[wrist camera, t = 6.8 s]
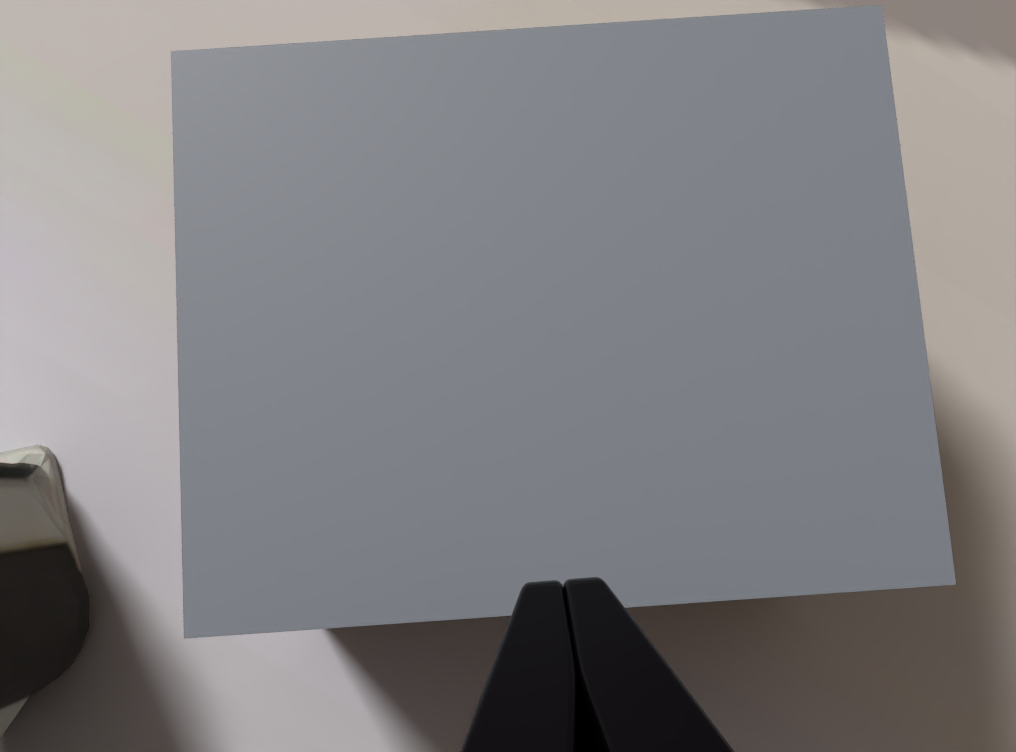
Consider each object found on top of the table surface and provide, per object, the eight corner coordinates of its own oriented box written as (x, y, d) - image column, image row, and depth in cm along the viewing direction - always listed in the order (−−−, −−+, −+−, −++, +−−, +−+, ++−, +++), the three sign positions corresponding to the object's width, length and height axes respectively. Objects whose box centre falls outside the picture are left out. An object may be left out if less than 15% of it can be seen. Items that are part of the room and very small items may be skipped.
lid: (934, 579, 12) (956, 584, 11) (200, 630, 12) (184, 638, 11) (864, 26, 13) (881, 5, 12) (186, 71, 13) (171, 51, 12)
